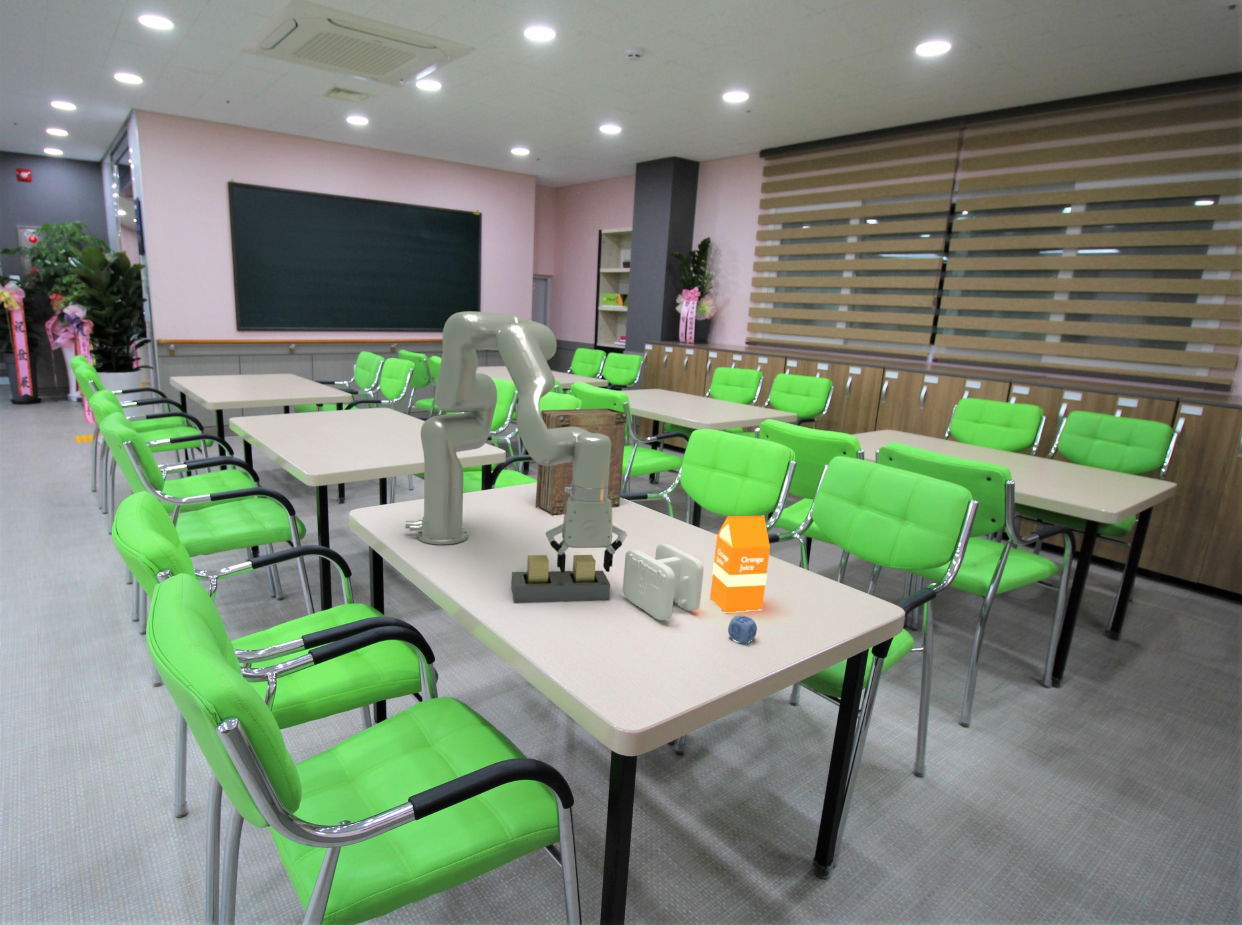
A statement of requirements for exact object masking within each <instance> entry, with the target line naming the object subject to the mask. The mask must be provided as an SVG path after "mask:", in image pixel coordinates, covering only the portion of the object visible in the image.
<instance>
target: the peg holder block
mask: <svg viewBox="0 0 1242 925" xmlns="http://www.w3.org/2000/svg"><path fill="white" fill-rule="evenodd" d="M549 568H550V561H549V558H548V555H547V554H536V555H535V554H529V555H527V563H526V571H511V578H510V579H511V581H510V582H511V584H510V586H511V587H510V589H511V592H512V593H511V595H512V594H513V595H512V601H513V603H514V604H515V603H516V604H520V602H521V603H522V604H523V602H524V604H525V603H553V602H554V601H555V602H557V601H558V602H559V601H563V602H591V601H592V602H594V601H595V600H596V601H595V602H597V600H598V602H599V600H601V601H610V596H611V583H610V581H609V580H608V577H607V575H606V574H605V572H604V570H595V576H594V583H573V581H572V571H573V570H565V572H564V573H561V570H556V571H555V570H551V571H549ZM593 600H594V601H593ZM555 602H554V603H555ZM558 602H557V603H558Z"/></svg>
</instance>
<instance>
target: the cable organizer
mask: <svg viewBox="0 0 1242 925" xmlns="http://www.w3.org/2000/svg"><path fill="white" fill-rule="evenodd" d="M624 556H625V558H624V568H623V570H624V571H623V580H622V581H623V583H622V592H623V595H624V597H625V599H627V600H628V601H629V602H630V603H631V602H632V603H631V604H633V605H634V604H635V605H634V606H636V607H637V606H638V607H637V608H640V609H642V610H643V611H644V612H646V613H648V615H649V614H650V615H649V616H651V617H652V616H653V617H652V618H654V619H655V618H656V619H655V620H657V619H658V621H664V620H669V619H670V618H671V617H672V615H673V607H674V603H676V604H677V608H679V606H680V608H683V610H684V611H686V612H692V611H696V610H699V608H700V606H701V598H702V590H703V589H702V588H703V581H704V580H703V579H704V577H703V576H704V570H705V569H704V565H703V563H702V561H701V560H699V559H698V558H697V557H694V556H692V555H690V554H689V553H686V552H684V551H683V550H680V549H679V548H677V547H675V546H673V545H671V544H669V543H659V544H658V545H657V546H656V548H655V558H654V557H652V556H650V555H648V554H646V553H645V552H643V551H641V550H639V549H636V548H635V549H630V550H627V551H626V552H625V555H624Z"/></svg>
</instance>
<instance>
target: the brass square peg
mask: <svg viewBox="0 0 1242 925" xmlns="http://www.w3.org/2000/svg"><path fill="white" fill-rule="evenodd" d="M571 571H572V581H573V583H594V576H595V571H596V560H595V558H594V556H593V554H573V560H572V570H571Z"/></svg>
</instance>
